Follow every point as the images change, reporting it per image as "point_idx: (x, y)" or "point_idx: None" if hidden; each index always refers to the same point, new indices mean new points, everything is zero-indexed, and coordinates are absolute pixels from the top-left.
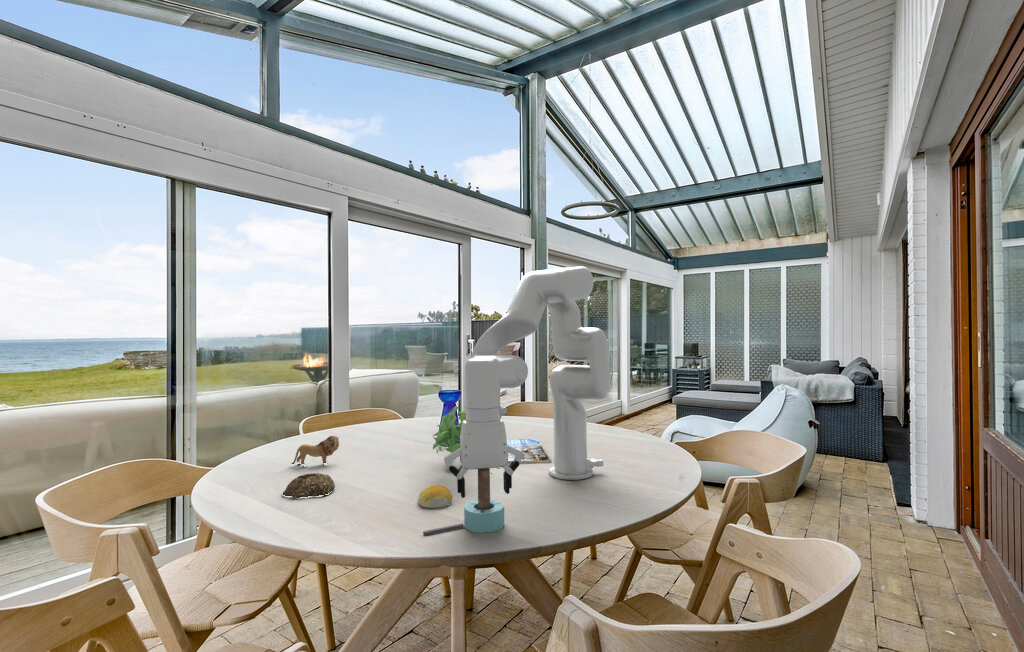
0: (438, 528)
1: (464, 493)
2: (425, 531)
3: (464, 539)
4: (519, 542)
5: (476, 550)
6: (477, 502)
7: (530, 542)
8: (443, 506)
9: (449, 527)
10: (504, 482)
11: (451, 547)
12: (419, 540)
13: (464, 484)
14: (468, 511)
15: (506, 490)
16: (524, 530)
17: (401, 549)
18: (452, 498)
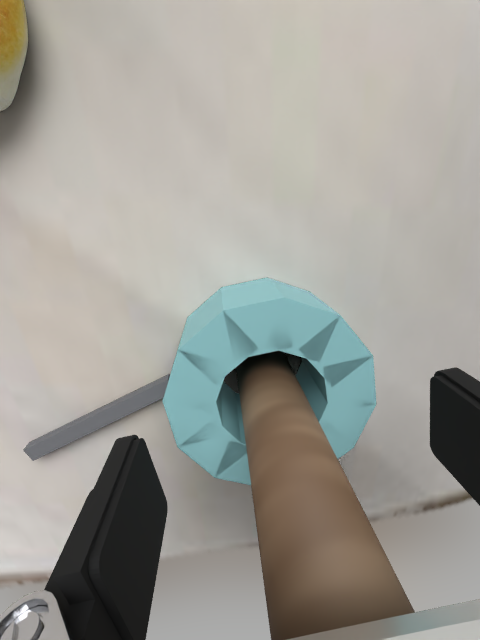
0: (78, 425)
1: (161, 531)
2: (33, 451)
3: (195, 473)
4: (372, 486)
5: (242, 533)
6: (233, 351)
7: (405, 485)
8: (1, 110)
9: (121, 417)
10: (476, 448)
11: None
12: (36, 484)
13: (148, 601)
14: (196, 461)
15: (446, 465)
16: (405, 406)
17: (2, 538)
18: (21, 7)
